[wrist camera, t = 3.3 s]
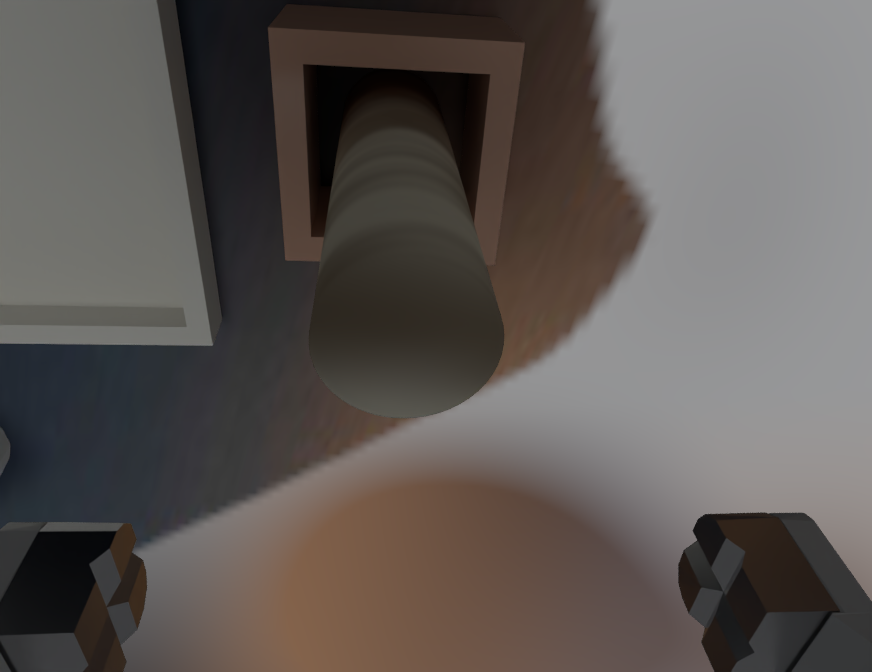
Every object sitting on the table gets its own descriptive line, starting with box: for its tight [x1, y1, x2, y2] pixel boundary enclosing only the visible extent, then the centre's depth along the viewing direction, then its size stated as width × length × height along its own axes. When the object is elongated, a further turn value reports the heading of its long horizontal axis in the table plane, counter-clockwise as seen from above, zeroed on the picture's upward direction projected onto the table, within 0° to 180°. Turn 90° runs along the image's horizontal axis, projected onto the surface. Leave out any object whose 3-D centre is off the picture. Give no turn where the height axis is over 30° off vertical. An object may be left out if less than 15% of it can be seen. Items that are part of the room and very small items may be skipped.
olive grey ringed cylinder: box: [309, 68, 504, 418], centre depth 20 cm, size 4×4×16 cm
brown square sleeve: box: [268, 4, 525, 265], centre depth 24 cm, size 8×8×5 cm
